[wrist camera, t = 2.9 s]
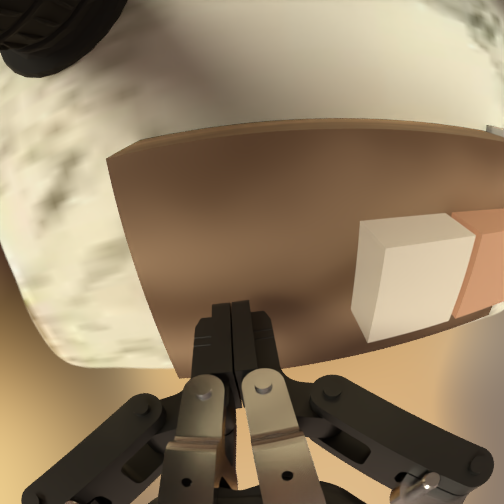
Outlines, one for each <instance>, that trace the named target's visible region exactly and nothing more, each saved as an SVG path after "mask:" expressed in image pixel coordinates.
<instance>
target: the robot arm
mask: <svg viewBox="0 0 504 504" xmlns="http://www.w3.org/2000/svg"><path fill="white" fill-rule="evenodd" d="M193 346H194V347H193V357H192V369H191V379H190V380H189V381H188V382H187V383H186V384H185V386H184V389H183V390H182V391H181V392H180V393H178V394H176V395H173V396H170V397H167V398H164V399H161V400H159V399H158V398H157V397H156V396H154V395H151V394H148V393H143V394H138V395H135V396H133V397H132V398H130V399H129V400H128V401H127V402H126V403H125V404H124V405H123V406H121V407H120V408H119V409H118V410H117V411H116V412H115V413H114V414H112V416H110V417H109V418H108V419H107V420H106V421H105V422H103V423H102V424H101V425H100V426H99V427H98V428H97V429H95V430H94V431H93V432H92V433H91V434H90V435H89V436H87V437H86V438H85V439H84V440H83V441H82V442H81V443H79V444H78V445H77V446H76V447H75V448H74V449H73V450H71V451H70V452H69V453H68V454H67V455H65V456H64V457H63V458H62V459H61V460H59V461H58V462H57V463H56V464H55V465H54V466H52V467H51V468H50V469H49V470H48V471H46V472H45V473H44V474H43V475H42V476H41V477H39V478H38V479H37V480H36V481H34V482H33V483H32V484H31V485H30V486H28V487H27V488H26V489H25V491H24V492H23V494H22V500H21V501H22V504H130V503H131V502H132V501H133V500H134V499H136V498H137V497H138V496H139V495H140V494H141V493H142V492H143V491H144V490H145V489H146V488H147V487H148V486H149V485H150V484H151V483H152V482H153V481H154V480H155V479H156V478H157V477H158V476H160V474H161V480H160V488H159V494H158V497H157V498H155V499H154V500H152V501H151V502H150V503H148V504H366V503H365V502H363V501H361V500H360V499H358V498H357V497H355V496H354V495H352V494H351V493H349V492H348V491H346V490H345V489H343V488H341V487H339V486H336V485H333V484H331V483H327V482H323V481H319V479H318V476H317V473H316V470H315V466H314V463H313V460H312V457H311V454H310V451H309V448H308V444H307V441H306V438H305V437H309V438H310V439H311V440H312V441H314V442H315V443H316V444H318V445H319V446H321V447H322V448H324V449H325V450H327V451H328V452H330V453H331V454H333V455H334V456H336V457H338V458H339V459H341V460H342V461H344V462H345V463H347V464H349V465H351V466H352V467H354V468H355V469H357V470H359V471H360V472H362V473H364V474H366V475H367V476H369V477H371V478H372V479H374V480H376V481H378V482H379V483H381V484H383V485H385V486H387V487H388V488H390V489H392V491H391V494H390V504H463V502H464V500H465V498H466V496H467V495H468V494H469V493H470V492H471V491H473V490H474V489H476V488H477V487H479V486H481V485H482V484H484V483H485V482H486V481H487V480H488V479H489V478H490V476H491V474H492V472H493V468H494V461H493V457H492V455H491V453H490V452H489V451H488V450H487V449H485V448H483V447H480V446H478V445H476V444H473V443H471V442H469V441H466V440H465V439H463V438H460V437H458V436H456V435H454V434H452V433H450V432H447V431H445V430H443V429H441V428H439V427H437V426H435V425H433V424H431V423H429V422H427V421H424V420H422V419H420V418H419V417H417V416H415V415H413V414H411V413H409V412H407V411H405V410H403V409H401V408H399V407H397V406H395V405H393V404H392V403H390V402H387V401H386V400H384V399H382V398H380V397H378V396H377V395H375V394H373V393H371V392H369V391H367V390H366V389H364V388H362V387H360V386H358V385H357V384H355V383H353V382H351V381H349V380H348V379H346V378H344V377H342V376H338V375H326V376H323V377H321V378H319V379H317V380H316V381H315V382H314V383H305V382H298V381H295V380H292V379H290V378H289V377H287V376H286V375H285V374H284V373H283V372H282V370H281V367H280V362H279V357H278V352H277V347H276V342H275V338H274V332H273V327H272V322H271V318H270V317H269V316H268V315H267V314H266V312H265V311H264V310H263V311H256V312H251V310H250V303H249V300H243V301H235V302H231V303H230V302H228V303H219V304H212V317H207V318H201V319H200V320H199V322H198V324H197V325H196V327H195V334H194V345H193ZM241 399H242V401H241ZM242 402H243V406H244V408H245V409H246V415H247V420H248V425H249V430H250V436H251V444H252V450H253V455H254V460H255V465H256V470H257V475H258V480H259V485H258V486H255V487H252V488H248V489H245V490H238V483H237V482H238V481H237V474H236V436H237V433H236V432H237V425H236V409H237V408H242Z"/></svg>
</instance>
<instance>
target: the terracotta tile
mask: <svg viewBox="0 0 504 504" xmlns="http://www.w3.org/2000/svg"><path fill="white" fill-rule="evenodd" d="M451 217H452V218H453V219H454V220H456V221H457V222H459V223H460V224H461V225H463V226H464V227H465V228H467V229H468V230H469V231H471V232H472V233H473V234H475V235H476V237H475V241H474V245H473V249H472V253H471V256H470V260H469V263H468V267H467V270H466V273H465V277H464V280H463V283H462V286H461V289H460V292H459V295H458V298H457V300H456V303H455V306H454V309H453V311H452V315H453V316H454V318H455V319H456V318H459V317H462V316H465V315H468V314H470V313H473V312H476V311H479V310H482V309H484V308H487V307H490V306H492V305H495V304H497V303H500V302H502V301H504V208H503V209H489V210H476V211H463V212H452V215H451Z"/></svg>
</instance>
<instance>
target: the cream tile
mask: <svg viewBox="0 0 504 504" xmlns="http://www.w3.org/2000/svg"><path fill="white" fill-rule="evenodd" d="M475 237H476V235H475V234H473V233H472V232H471V231H469V230H468V229H467V228H465V227H464V226H463V225H461V224H460V223H459V222H457V221H456V220H454V219H453V218H452V217H450V216H449V215H447V214H446V213H439V214H428V215H417V216H406V217H395V218H385V219H375V220H365V221H360V228H359V241H358V252H357V262H356V272H355V280H354V288H353V296H352V304H351V311H352V313H353V315H354V317H355V319H356V321H357V323H358V325H359V327H360V329H361V331H362V333H363V335H364V337H365V339H366V341H367V343H370V342H374V341H378V340H382V339H387V338H391V337H394V336H398V335H402V334H406V333H409V332H413V331H417V330H420V329H424V328H427V327H430V326H434V325H437V324H440V323H443V322H447V321H449V319H450V316H451V314H452V311H453V309H454V306H455V303H456V300H457V298H458V295H459V292H460V289H461V286H462V283H463V280H464V277H465V273H466V270H467V267H468V263H469V260H470V256H471V253H472V249H473V245H474V241H475Z"/></svg>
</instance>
